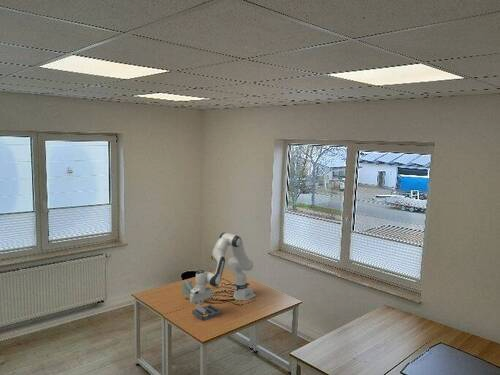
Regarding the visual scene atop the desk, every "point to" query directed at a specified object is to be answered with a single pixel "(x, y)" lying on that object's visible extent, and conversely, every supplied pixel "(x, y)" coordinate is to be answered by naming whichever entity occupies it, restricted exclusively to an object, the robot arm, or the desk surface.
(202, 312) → the panel
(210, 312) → the rack
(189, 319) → the desk surface
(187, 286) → the bracket
